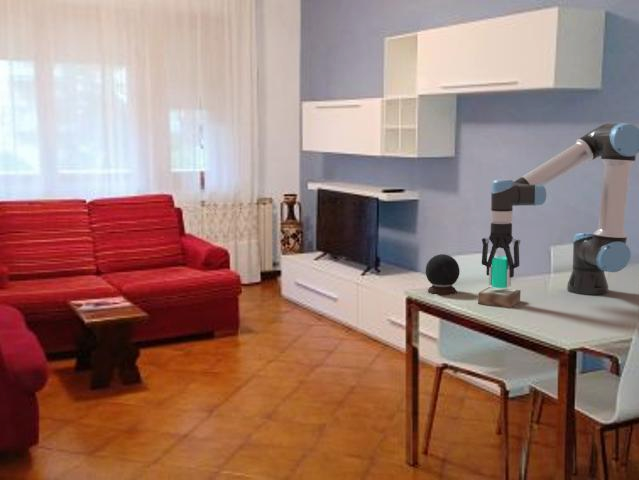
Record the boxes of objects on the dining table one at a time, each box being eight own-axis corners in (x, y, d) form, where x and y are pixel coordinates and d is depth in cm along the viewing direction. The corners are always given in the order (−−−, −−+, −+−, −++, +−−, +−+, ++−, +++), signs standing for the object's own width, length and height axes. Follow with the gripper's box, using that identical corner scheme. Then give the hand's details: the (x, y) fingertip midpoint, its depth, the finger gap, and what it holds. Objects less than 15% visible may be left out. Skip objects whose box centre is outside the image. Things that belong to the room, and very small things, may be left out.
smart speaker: (436, 296, 274) (436, 258, 272) (419, 290, 286) (419, 253, 284) (465, 293, 279) (466, 255, 277) (447, 287, 291) (448, 251, 289)
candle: (506, 284, 266) (507, 252, 264) (509, 288, 260) (510, 255, 258) (490, 284, 266) (491, 252, 264) (492, 287, 260) (493, 255, 259)
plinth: (520, 300, 266) (520, 289, 265) (510, 307, 256) (511, 295, 255) (488, 297, 272) (488, 286, 271) (478, 303, 262) (478, 292, 261)
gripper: (530, 222, 258) (528, 285, 261) (479, 220, 268) (478, 281, 271) (524, 224, 252) (522, 289, 255) (472, 222, 261) (471, 284, 265)
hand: (499, 285), depth 263 cm, fingers closed on candle, 6 cm apart
